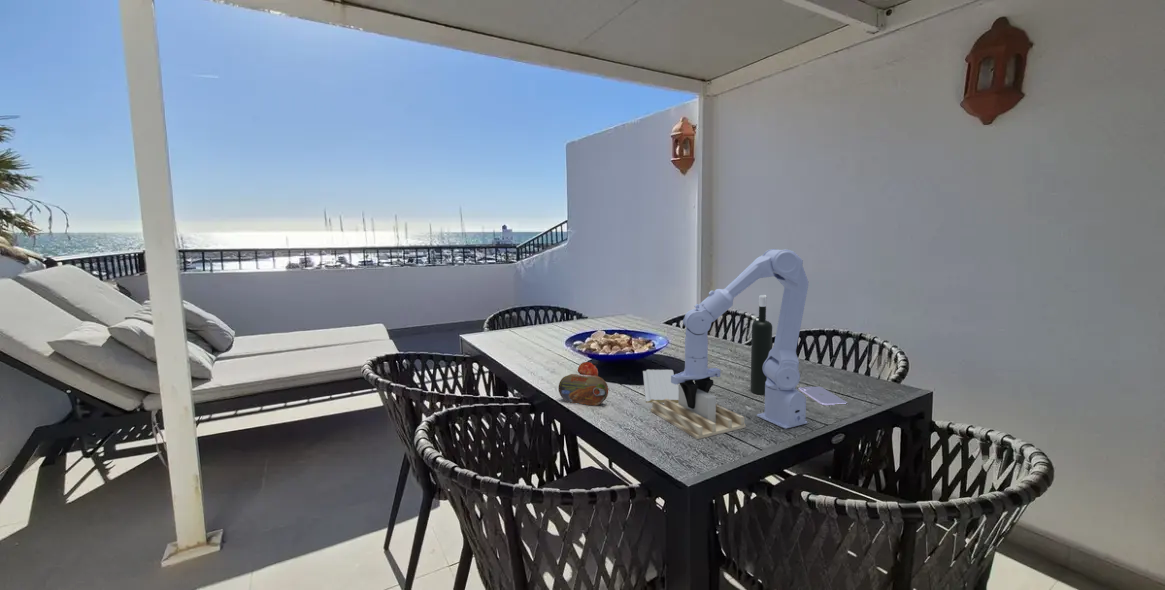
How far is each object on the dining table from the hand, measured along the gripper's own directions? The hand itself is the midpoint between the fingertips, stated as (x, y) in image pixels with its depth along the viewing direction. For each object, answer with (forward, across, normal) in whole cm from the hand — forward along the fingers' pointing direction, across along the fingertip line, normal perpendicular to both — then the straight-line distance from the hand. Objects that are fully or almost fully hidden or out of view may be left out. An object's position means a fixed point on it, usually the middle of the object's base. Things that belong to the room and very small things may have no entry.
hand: (695, 406), depth 118 cm
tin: (+4, +21, -25) cm, 33 cm away
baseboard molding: (+4, -7, -28) cm, 29 cm away
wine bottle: (+4, -31, -8) cm, 32 cm away
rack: (+3, 0, 0) cm, 3 cm away
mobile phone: (+4, -44, +3) cm, 44 cm away
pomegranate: (+4, +12, -42) cm, 44 cm away
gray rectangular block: (+3, 0, 0) cm, 3 cm away
